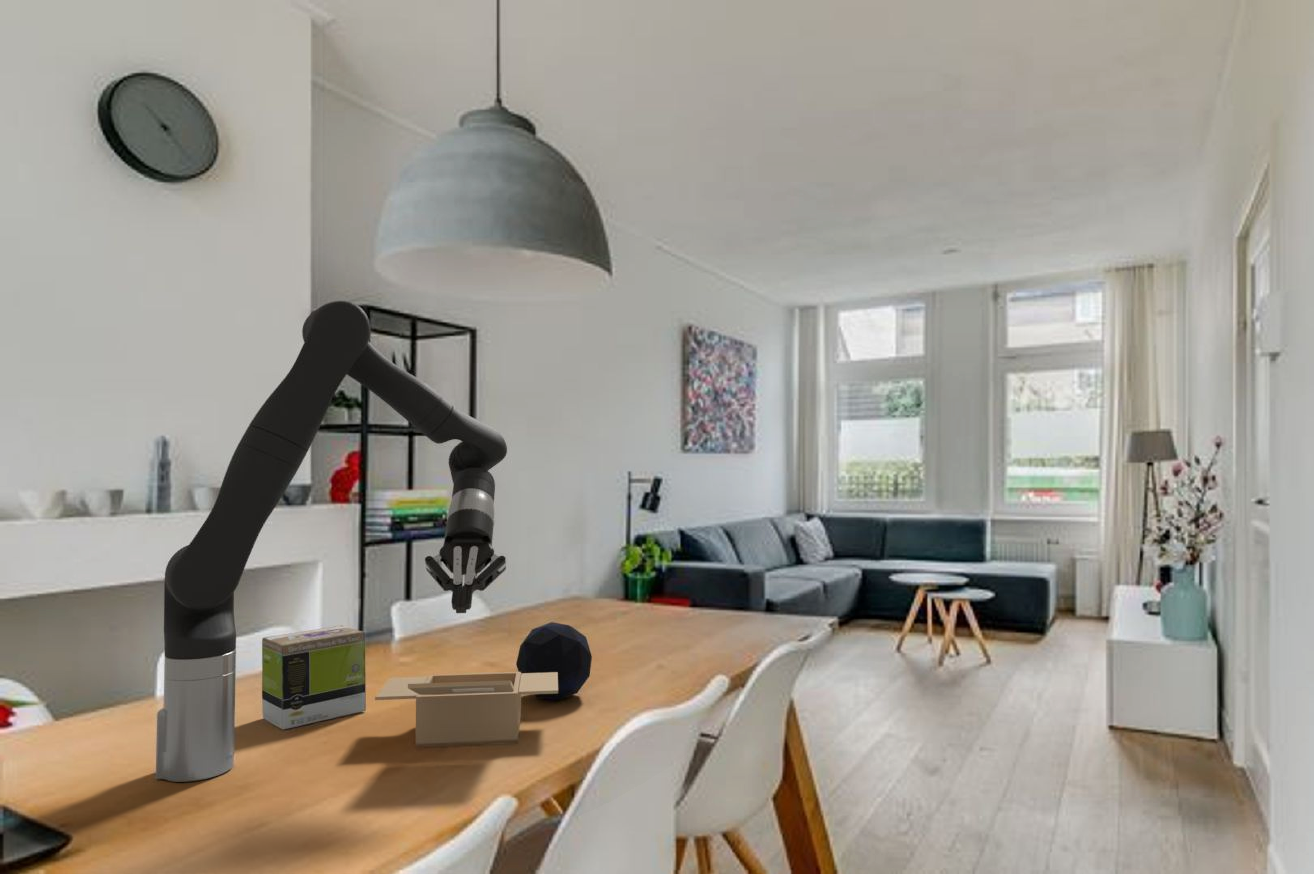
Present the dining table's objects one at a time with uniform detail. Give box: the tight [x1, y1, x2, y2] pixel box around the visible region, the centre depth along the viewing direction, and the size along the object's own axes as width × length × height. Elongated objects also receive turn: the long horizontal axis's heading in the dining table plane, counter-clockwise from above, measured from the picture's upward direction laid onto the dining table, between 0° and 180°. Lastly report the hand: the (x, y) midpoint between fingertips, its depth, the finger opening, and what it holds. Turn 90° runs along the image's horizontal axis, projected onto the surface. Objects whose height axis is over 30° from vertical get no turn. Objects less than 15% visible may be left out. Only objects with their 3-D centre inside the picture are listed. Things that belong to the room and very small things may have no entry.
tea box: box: [261, 625, 367, 730], centre depth 147 cm, size 15×10×15 cm
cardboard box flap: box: [408, 680, 514, 695], centre depth 125 cm, size 15×1×12 cm
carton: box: [374, 671, 558, 749], centre depth 138 cm, size 29×15×8 cm, turn 97°
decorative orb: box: [515, 621, 593, 702], centre depth 158 cm, size 14×15×15 cm
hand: (460, 609), depth 121 cm, fingers closed
